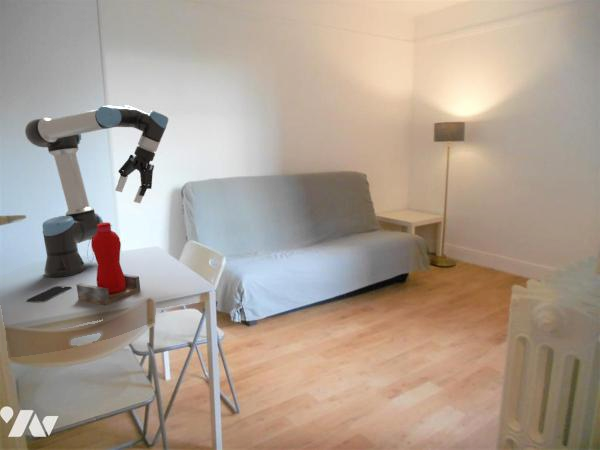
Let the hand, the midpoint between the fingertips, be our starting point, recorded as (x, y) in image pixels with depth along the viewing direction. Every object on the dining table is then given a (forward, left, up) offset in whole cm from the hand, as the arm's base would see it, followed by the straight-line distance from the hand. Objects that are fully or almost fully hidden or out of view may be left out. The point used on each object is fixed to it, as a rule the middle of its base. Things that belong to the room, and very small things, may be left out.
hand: (127, 196), depth 169 cm
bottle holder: (+14, -24, -32) cm, 42 cm away
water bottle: (+13, -24, -31) cm, 41 cm away
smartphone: (-9, -32, -32) cm, 47 cm away
